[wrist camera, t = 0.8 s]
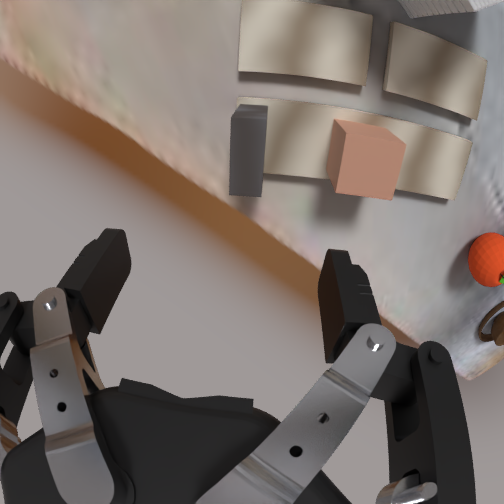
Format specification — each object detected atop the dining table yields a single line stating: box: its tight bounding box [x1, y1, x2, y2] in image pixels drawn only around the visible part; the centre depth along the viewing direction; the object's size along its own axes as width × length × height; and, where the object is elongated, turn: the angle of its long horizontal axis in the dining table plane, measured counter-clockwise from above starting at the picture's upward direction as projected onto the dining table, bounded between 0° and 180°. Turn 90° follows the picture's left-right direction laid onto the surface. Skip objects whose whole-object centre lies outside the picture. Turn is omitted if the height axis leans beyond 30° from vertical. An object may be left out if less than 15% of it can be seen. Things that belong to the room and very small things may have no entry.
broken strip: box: [238, 0, 487, 120], centre depth 20 cm, size 24×7×1 cm, turn 87°
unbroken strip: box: [229, 97, 473, 200], centre depth 23 cm, size 24×7×7 cm, turn 87°
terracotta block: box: [326, 119, 407, 200], centre depth 23 cm, size 5×5×5 cm
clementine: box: [468, 233, 504, 287], centre depth 29 cm, size 8×7×7 cm
